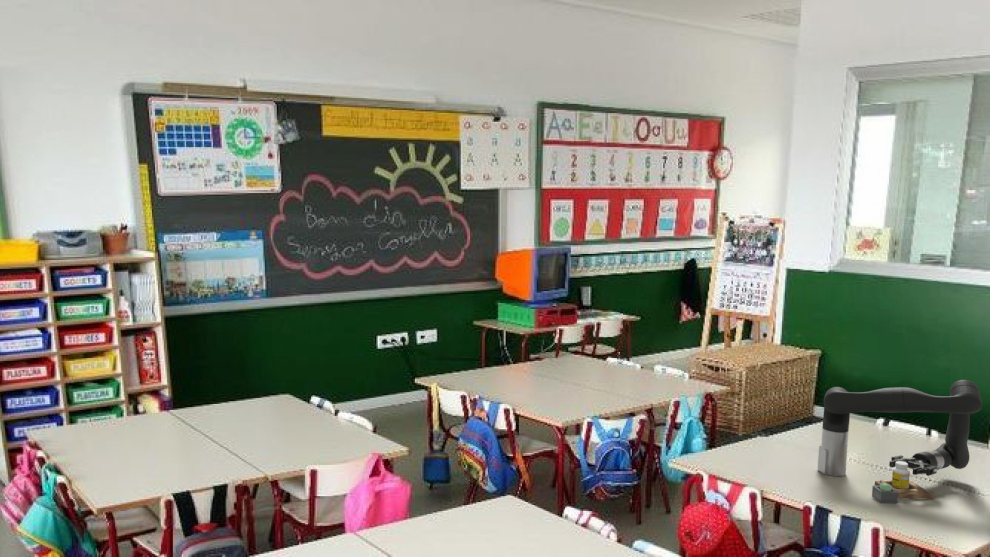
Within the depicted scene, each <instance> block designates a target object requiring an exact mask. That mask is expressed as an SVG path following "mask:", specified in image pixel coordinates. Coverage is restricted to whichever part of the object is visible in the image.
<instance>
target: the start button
mask: <svg viewBox="0 0 990 557" xmlns="http://www.w3.org/2000/svg"><path fill="white" fill-rule="evenodd" d="M880 490H881V491H891V485H890V484H886V483H880Z"/></svg>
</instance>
